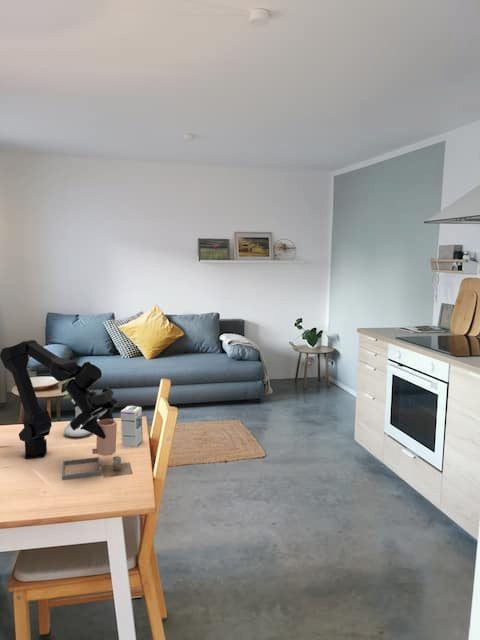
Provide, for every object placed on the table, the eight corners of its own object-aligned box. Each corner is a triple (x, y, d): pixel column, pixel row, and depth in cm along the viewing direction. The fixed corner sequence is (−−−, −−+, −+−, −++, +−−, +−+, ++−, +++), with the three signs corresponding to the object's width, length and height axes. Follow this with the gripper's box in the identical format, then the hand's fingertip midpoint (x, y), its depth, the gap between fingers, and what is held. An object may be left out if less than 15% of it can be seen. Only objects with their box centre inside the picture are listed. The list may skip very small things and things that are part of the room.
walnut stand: (103, 480, 158) (103, 465, 157) (102, 468, 166) (101, 454, 165) (133, 476, 160) (132, 461, 160) (130, 465, 169) (129, 450, 168)
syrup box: (136, 450, 181) (136, 411, 179) (121, 448, 182) (120, 410, 180) (142, 444, 187) (142, 406, 185) (127, 442, 188) (127, 405, 186)
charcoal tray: (62, 483, 156) (62, 476, 155) (63, 467, 166) (62, 461, 166) (100, 478, 159) (100, 471, 159) (98, 463, 170) (98, 457, 169)
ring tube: (112, 447, 166) (113, 418, 165) (116, 454, 161) (117, 424, 160) (91, 449, 163) (91, 420, 161) (94, 457, 158) (95, 426, 156)
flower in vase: (86, 426, 204) (84, 366, 201) (99, 434, 196) (98, 371, 192) (54, 434, 195) (52, 371, 192) (67, 442, 187) (64, 377, 184)
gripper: (79, 389, 151) (110, 431, 150) (113, 374, 169) (141, 411, 167) (56, 409, 155) (86, 450, 153) (92, 392, 172) (120, 429, 171)
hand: (110, 434), depth 161 cm, fingers closed on ring tube, 6 cm apart
